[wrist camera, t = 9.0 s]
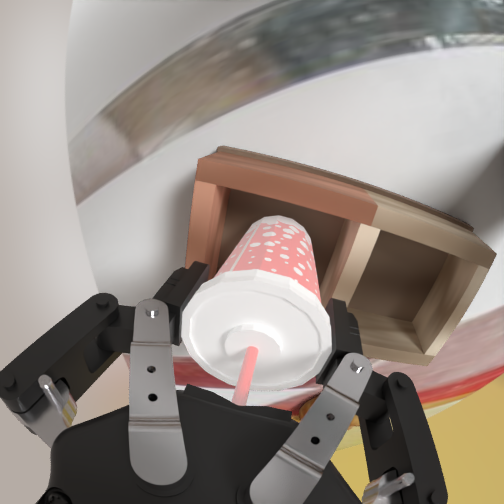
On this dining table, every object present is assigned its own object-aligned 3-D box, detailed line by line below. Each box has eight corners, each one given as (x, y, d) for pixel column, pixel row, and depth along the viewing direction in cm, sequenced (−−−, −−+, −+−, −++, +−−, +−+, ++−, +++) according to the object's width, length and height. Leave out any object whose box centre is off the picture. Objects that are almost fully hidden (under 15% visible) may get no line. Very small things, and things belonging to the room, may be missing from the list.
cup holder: (222, 145, 18) (195, 153, 14) (468, 223, 17) (500, 250, 13) (201, 277, 23) (179, 312, 19) (413, 330, 22) (426, 368, 18)
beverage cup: (252, 296, 20) (191, 482, 8) (217, 221, 18) (82, 395, 6) (334, 275, 18) (347, 486, 6) (306, 190, 16) (301, 400, 4)
